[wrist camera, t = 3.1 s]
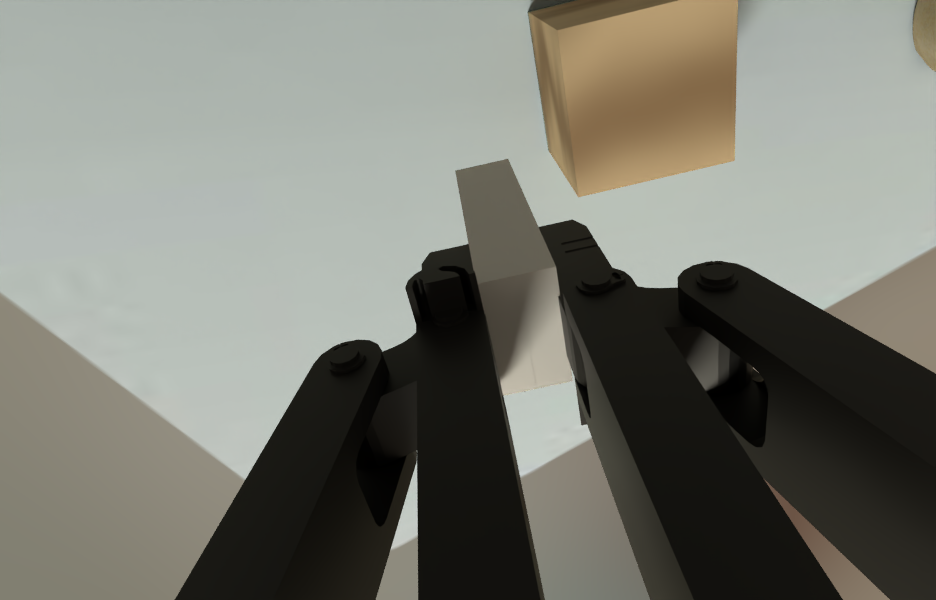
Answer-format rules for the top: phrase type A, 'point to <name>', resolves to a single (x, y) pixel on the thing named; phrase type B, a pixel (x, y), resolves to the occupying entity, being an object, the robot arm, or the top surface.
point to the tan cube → (636, 87)
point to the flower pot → (925, 31)
